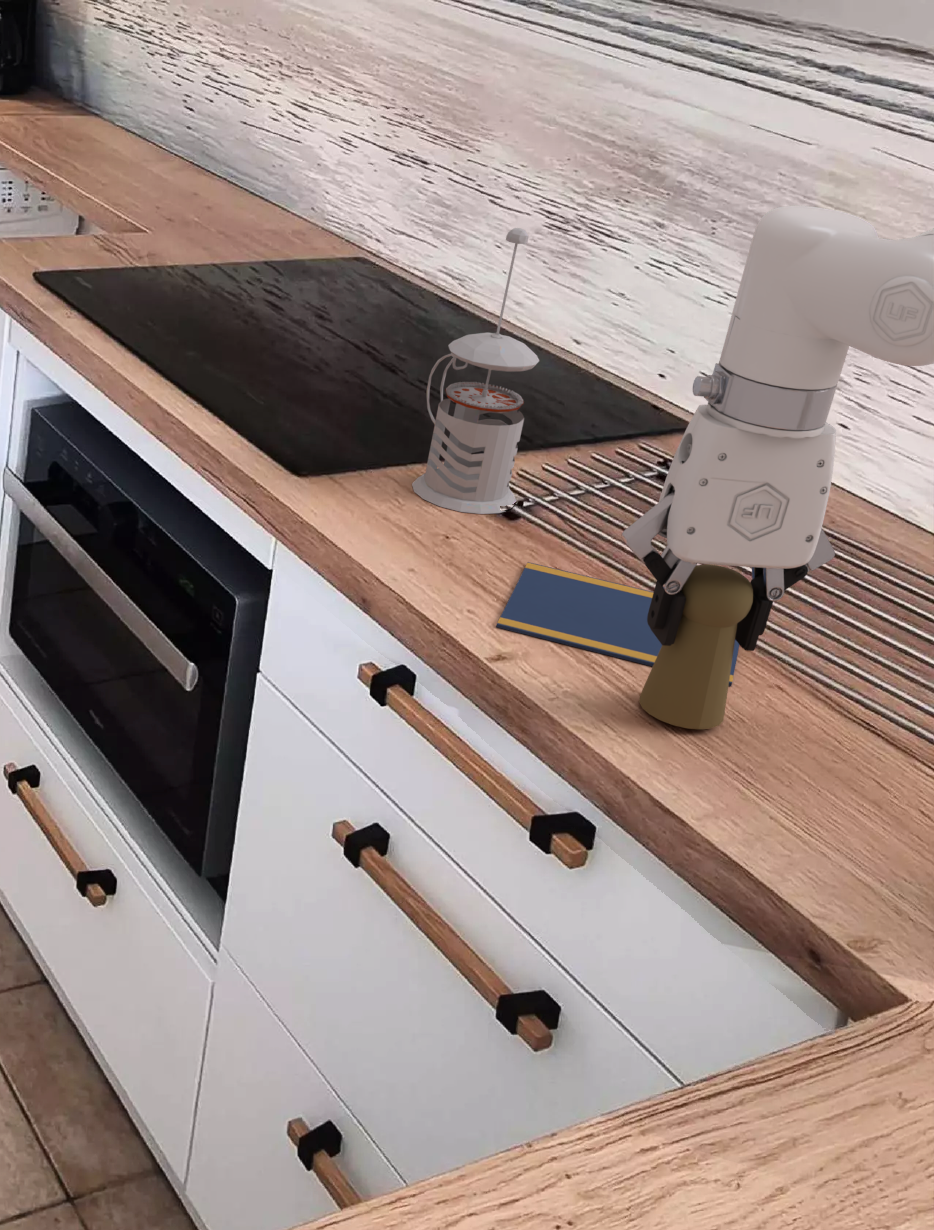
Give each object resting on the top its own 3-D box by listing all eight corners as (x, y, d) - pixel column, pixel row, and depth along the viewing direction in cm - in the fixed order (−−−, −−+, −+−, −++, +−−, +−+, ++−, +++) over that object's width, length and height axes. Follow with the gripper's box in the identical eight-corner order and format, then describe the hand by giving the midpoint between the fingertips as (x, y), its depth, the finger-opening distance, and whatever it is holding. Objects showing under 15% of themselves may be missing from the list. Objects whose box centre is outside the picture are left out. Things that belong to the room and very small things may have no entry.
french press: (458, 519, 156) (515, 245, 144) (378, 473, 165) (426, 211, 153) (539, 506, 160) (600, 240, 149) (457, 462, 169) (509, 207, 158)
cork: (635, 682, 129) (671, 548, 124) (718, 696, 128) (758, 562, 123) (642, 720, 124) (680, 582, 118) (729, 735, 123) (771, 597, 118)
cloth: (744, 616, 142) (745, 613, 142) (731, 686, 131) (732, 682, 131) (526, 564, 148) (527, 561, 148) (495, 627, 137) (496, 623, 136)
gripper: (664, 409, 111) (600, 657, 119) (920, 427, 112) (838, 671, 120) (627, 371, 118) (569, 609, 126) (869, 389, 119) (795, 623, 127)
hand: (701, 637), depth 123 cm, fingers closed on cork, 5 cm apart
